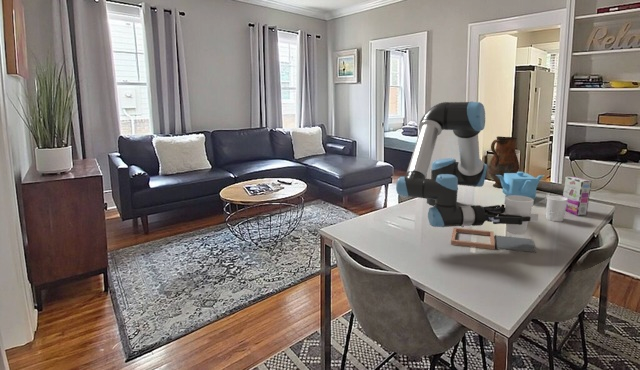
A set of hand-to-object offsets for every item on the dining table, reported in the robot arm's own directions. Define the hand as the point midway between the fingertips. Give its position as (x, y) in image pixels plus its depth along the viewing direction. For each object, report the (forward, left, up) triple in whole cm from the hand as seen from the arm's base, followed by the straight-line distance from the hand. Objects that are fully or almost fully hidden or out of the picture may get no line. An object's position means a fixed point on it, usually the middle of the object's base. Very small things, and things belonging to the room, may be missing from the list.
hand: (529, 213), depth 144 cm
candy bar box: (+25, +49, -12) cm, 57 cm away
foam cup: (-4, -2, -7) cm, 8 cm away
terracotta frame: (-19, -2, -12) cm, 23 cm away
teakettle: (+3, +66, -12) cm, 68 cm away
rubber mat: (-4, -2, -12) cm, 13 cm away
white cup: (+15, +35, -12) cm, 40 cm away
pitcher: (-5, +92, -12) cm, 93 cm away
